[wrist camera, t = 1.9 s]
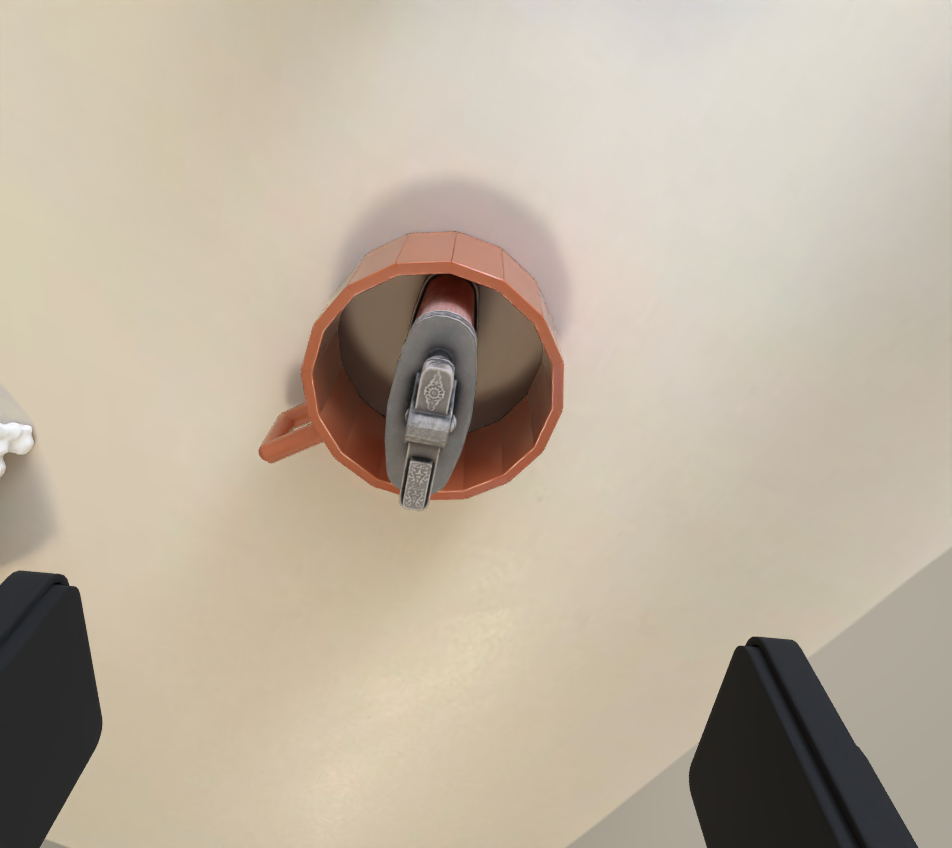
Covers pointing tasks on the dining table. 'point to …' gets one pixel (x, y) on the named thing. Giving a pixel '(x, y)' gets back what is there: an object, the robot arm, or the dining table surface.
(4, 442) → the cauliflower
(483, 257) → the mug
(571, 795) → the dining table surface
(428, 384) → the lighter
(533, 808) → the dining table surface
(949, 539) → the dining table surface
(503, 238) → the dining table surface
